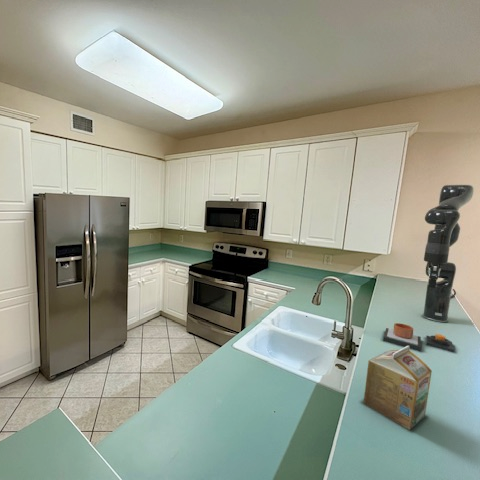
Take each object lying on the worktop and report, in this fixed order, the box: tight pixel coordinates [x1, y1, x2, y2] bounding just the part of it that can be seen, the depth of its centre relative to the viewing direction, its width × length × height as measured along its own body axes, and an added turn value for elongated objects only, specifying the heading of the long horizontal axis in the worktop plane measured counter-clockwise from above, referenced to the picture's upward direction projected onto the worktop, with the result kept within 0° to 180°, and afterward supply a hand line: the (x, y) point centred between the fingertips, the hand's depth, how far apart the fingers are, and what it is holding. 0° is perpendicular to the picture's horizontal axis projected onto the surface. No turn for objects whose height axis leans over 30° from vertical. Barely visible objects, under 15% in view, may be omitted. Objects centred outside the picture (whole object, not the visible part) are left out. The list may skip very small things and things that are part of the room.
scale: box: [382, 327, 422, 352], centre depth 116 cm, size 14×12×3 cm
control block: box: [425, 335, 455, 353], centre depth 113 cm, size 10×8×3 cm
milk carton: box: [363, 346, 433, 431], centre depth 73 cm, size 11×10×19 cm
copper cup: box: [393, 322, 414, 339], centre depth 115 cm, size 6×6×5 cm
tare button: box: [434, 333, 447, 341], centre depth 112 cm, size 3×3×2 cm
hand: (431, 285), depth 119 cm, fingers open, 8 cm apart
